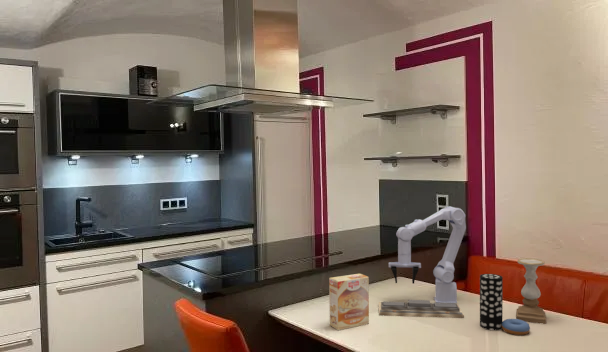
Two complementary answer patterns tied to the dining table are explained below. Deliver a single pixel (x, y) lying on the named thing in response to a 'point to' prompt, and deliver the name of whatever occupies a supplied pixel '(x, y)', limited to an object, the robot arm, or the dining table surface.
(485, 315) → the spotted tube
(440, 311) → the switch unit
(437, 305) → the key
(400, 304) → the key
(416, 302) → the key middle
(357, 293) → the coffeecake box
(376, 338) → the dining table surface
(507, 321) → the doughnut
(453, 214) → the robot arm
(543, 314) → the candle holder
